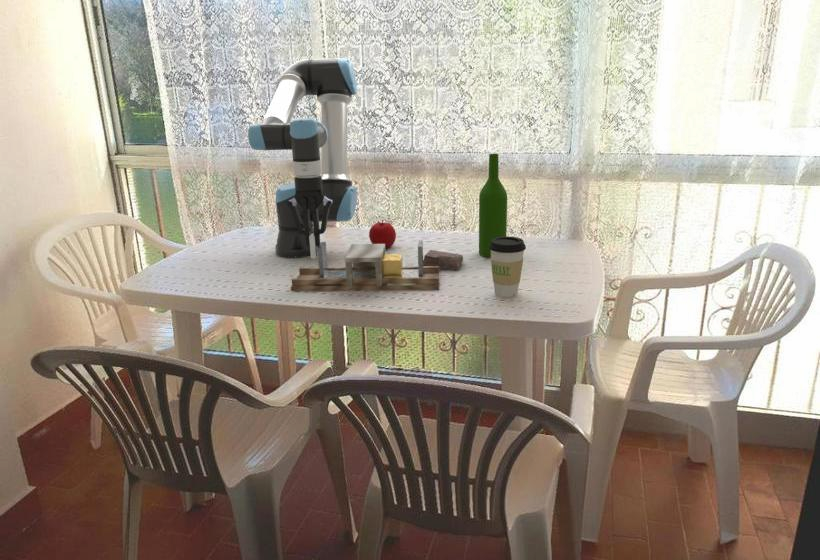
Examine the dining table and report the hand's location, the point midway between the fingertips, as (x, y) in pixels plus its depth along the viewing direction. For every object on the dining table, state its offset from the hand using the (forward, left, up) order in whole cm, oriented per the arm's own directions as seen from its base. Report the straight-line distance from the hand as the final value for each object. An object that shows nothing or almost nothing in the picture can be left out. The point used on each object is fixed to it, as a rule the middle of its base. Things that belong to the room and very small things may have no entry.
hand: (314, 256), depth 182 cm
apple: (-4, +40, -8) cm, 41 cm away
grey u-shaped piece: (+14, +8, -6) cm, 18 cm away
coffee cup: (+52, +18, -8) cm, 56 cm away
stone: (+25, +32, -9) cm, 41 cm away
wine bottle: (+33, +50, -8) cm, 60 cm away
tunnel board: (+13, +8, -8) cm, 17 cm away
